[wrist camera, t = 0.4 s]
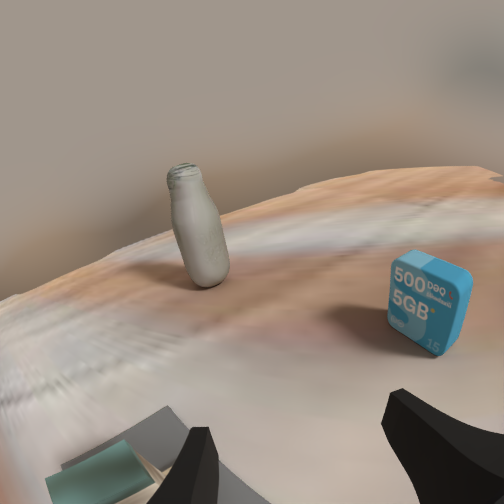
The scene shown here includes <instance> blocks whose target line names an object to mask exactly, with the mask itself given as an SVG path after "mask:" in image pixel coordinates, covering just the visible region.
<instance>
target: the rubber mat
mask: <svg viewBox="0 0 504 504" xmlns="http://www.w3.org/2000/svg"><path fill="white" fill-rule="evenodd" d="M189 431H190V430H189V429H188V428H187V427H186V426H185V425H184V424H183V423H182V422H181V420H180V419H179V418H178V417H177V416H176V415H175V414H174V412H173V411H172V410H171V409H170V408H169V406H168V405H167V406H166V407H164V408H163V409H161V410H160V411H158V412H156V413H155V414H153V415H152V416H150V417H148V418H147V419H145V420H143V421H142V422H140V423H138V424H137V425H135V426H133V427H132V428H130V429H128V430H127V431H125V432H123V433H121V434H120V435H118V436H116V437H114V438H113V439H111V440H109V441H107V442H105V443H103V444H102V445H100V446H98V447H96V448H94V449H92V450H90V451H88V452H86V453H84V454H82V455H80V456H78V457H76V458H74V459H72V460H70V461H68V462H66V463H64V464H62V465H61V467H62V470H65V469H68V468H70V467H72V466H74V465H76V464H78V463H80V462H82V461H84V460H86V459H88V458H90V457H92V456H94V455H96V454H98V453H100V452H102V451H103V450H105V449H107V448H109V447H111V446H113V445H114V444H116V443H118V442H120V441H122V440H123V439H124V440H125V441H126V442H128V443H129V444H130V445H131V446H132V448H133V449H134V450H135V451H136V452H138V453H139V454H140V455H141V456H142V457H143V458H145V459H146V460H147V461H148V462H149V463H151V464H152V465H153V466H154V467H155V468H157V469H158V470H159V471H161V472H162V473H163V474H164V475H166V476H167V474H168V473H169V471H170V469H171V468H172V466H173V464H174V462H175V460H176V459H177V457H178V455H179V453H180V451H181V449H182V447H183V445H184V443H185V441H186V438H187V436H188V434H189ZM217 504H271V503H269V502H268V501H267V500H265V499H264V498H263V497H261V496H260V495H259V494H258V493H256V492H255V491H254V490H253V489H251V488H250V487H249V486H248V485H246V484H245V483H244V482H243V481H242V480H240V479H239V478H238V477H237V476H236V475H235V474H234V473H232V472H231V471H230V470H229V469H228V468H227V467H226V466H225V465H224V464H222V463H221V462H220V461H219V488H218V501H217Z"/></svg>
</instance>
